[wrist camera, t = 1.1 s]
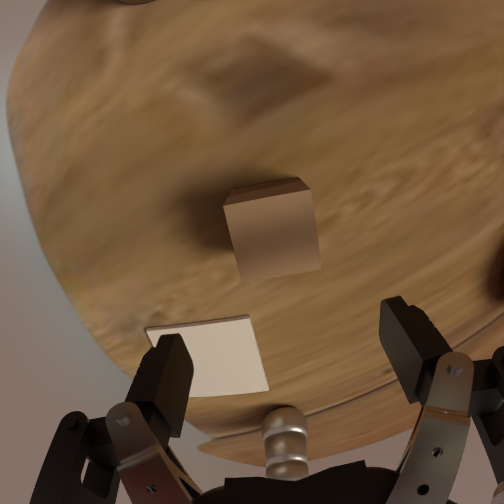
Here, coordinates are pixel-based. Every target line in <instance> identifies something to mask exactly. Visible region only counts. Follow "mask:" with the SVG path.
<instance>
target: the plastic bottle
mask: <svg viewBox="0 0 504 504" xmlns="http://www.w3.org/2000/svg"><path fill="white" fill-rule="evenodd" d="M261 432H262V438H263V441H264V446H265V455H266V476H265V478H271V479H279V480H289V481H296V480H300V479H302V478H305V477H308V476H310V474H309V468H308V462H307V442H306V439H307V434H308V423H307V420H306V418H305V415H304V414H303V413H302V412H301V411H300V410H298V409H296V408H292V407H282V408H277V409H274V410H272V411H270V412H269V413H268V414H267V415H266V416H265V418H264V419H263V422H262V427H261Z"/></svg>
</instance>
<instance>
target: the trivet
mask: <svg viewBox="0 0 504 504" xmlns="http://www.w3.org/2000/svg"><path fill="white" fill-rule="evenodd" d="M146 332H147V334H148V336H149V338H150V340H151V342H152V344H153V346H154V347H156V345H157V342H158V340H159V337H160V336H161V335H163V334H174V333H179V334H180V335H181V336H182V338H183V340H184V343H185V345H186V347H187V350H188V352H189V354H190V356H191V358H192V361H193V365H194V375H193V379H192V384H191V388H190V393H189V397H204V396H220V395H233V394H243V393H253V392H261V391H269V386H268V382H267V378H266V375H265V371H264V367H263V364H262V360H261V356H260V352H259V349H258V345H257V341H256V337H255V333H254V330H253V326H252V322H251V318H250V315H246V316H240V317H233V318H226V319H219V320H212V321H204V322H196V323H188V324H180V325H171V326H162V327H152V328H147V330H146Z"/></svg>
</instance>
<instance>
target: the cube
mask: <svg viewBox="0 0 504 504" xmlns="http://www.w3.org/2000/svg"><path fill="white" fill-rule="evenodd" d="M223 208H224V212H225V216H226V220H227V224H228V229H229V233H230V237H231V241H232V245H233V249H234V253H235V257H236V261H237V265H238V269H239V273H240V277H241V281H242V283H246V282H252V281H258V280H264V279H269V278H275V277H280V276H286V275H291V274H297V273H302V272H308V271H313V270H318V269H321V262H320V253H319V245H318V237H317V229H316V222H315V214H314V207H313V201H312V194H311V189H310V188H309V187H308V186H307V185H306V184H305V183H304V182H303V181H302V180H301V179H300V178H299V177H297V178H291V179H285V180H279V181H274V182H269V183H263V184H258V185H253V186H248V187H243V188H238V189H233V190H230V192H229V194H228V197H227V199H226V201H225V203H224V205H223Z"/></svg>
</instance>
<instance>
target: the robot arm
mask: <svg viewBox="0 0 504 504" xmlns="http://www.w3.org/2000/svg"><path fill="white" fill-rule="evenodd" d="M118 1H119V2H122V3H126V4H140V3H146V2H149V1H153V0H118ZM379 337H380V341H381V344H382V346H383V348H384V350H385V352H386V354H387V356H388V359H389V361H390V363H391V365H392V367H393V369H394V371H395V373H396V375H397V377H398V379H399V382H400V384H401V386H402V388H403V390H404V392H405V395H406V397H407V399H408V401H409V404H412V403H415V402H418V401H419V402H420V404H421V406H422V407H421V410H420V412H419V415H418V418H417V421H416V424H415V426H414V429H413V432H412V434H411V437H410V440H409V442H408V444H407V447H406V449H405V451H404V454H403V456H402V458H401V460H400V462H399V464H398V466H397V468H396V470H395V471H394V470H390V469H386V468H381V467H366V465H365V460H361V461H357V462H353V463H349V464H344V465H340V466H335V467H331V468H328V469H326V470H323V471H321V472H318V473H316V474H313V475H310V476H308V477H305V478H302V479H300V480H296V481H289V480H279V479H271V478H264V477H244V478H243V477H242V478H225V484H224V486H220V487H217V488H214V489H212V490H209V491H207V492H205V493H203V492H202V491H201V489H200V488H199V487H198V486H197V485H196V484H195V483H194V481H193V480H192V479H191V478H190V476H189V475H188V473H187V472H186V470H185V469H184V468H183V466H182V465H181V463H180V461H179V460H178V458H177V457H176V455H175V454H174V452H173V451H172V449H171V447H170V446H169V445H168V442H169V438H170V437H174V438H180V435H181V430H182V425H183V421H184V416H185V411H186V407H187V402H188V398H189V393H190V388H191V384H192V379H193V375H194V365H193V361H192V358H191V356H190V354H189V352H188V350H187V347H186V345H185V343H184V340H183V338H182V336H181V335H180V334H179V333H174V334H163V335H161V336H160V337H159V340H158V342H157V345H156V347H151V348H150V350H149V351H148V352H147V353H146V354H145V355H144V356H143V358H142V361H141V363H140V365H139V366H140V367H139V368H138V370H137V372H136V374H137V375H135V377H134V380H133V382H132V384H131V387H130V390H129V392H128V394H127V397H126V399H125V402H122V403H119V404H117V405H115V406H113V407H112V408H111V409H110V410H109V411H108V413H107V415H106V417H101V418H95V419H90V420H89V419H88V418H87V416H86V415H85V414H84V413H82V412H80V411H74V412H71V413H68V414H67V415H66V416H65V417H63V419H62V420H61V422H60V424H59V426H58V428H57V431H56V433H55V435H54V438H53V440H52V442H51V445H50V447H49V450H48V452H47V455H46V458H45V460H44V463H43V465H42V468H41V471H40V474H39V476H38V479H37V482H36V485H35V488H34V491H33V494H32V497H31V500H30V504H115V502H116V497H117V492H118V488H119V483H120V478H121V481H122V483H123V485H124V487H125V489H126V491H127V494H128V496H129V498H130V500H131V502H132V504H457V503H455V502H453V501H451V500H449V499H448V497H449V494H450V492H451V489H452V486H453V484H454V481H455V478H456V475H457V472H458V469H459V466H460V462H461V459H462V455H463V452H464V448H465V444H466V440H467V436H468V431H469V427H470V417H472V419H473V421H474V424H475V426H476V428H477V431H478V433H479V435H480V438H481V440H482V443H483V445H484V448H485V450H486V453H487V455H488V458H489V460H490V463H491V466H492V469H493V471H494V474H495V477H496V481H497V483H498V486H497V488H496V489H495V491H494V494H493V500H492V503H491V504H504V346H502V347H499V348H498V349H496V351H495V352H494V354H493V356H492V359H486V360H478V361H472V360H471V358H470V357H468V356H467V355H466V354H464V353H461V352H453V350H452V349H451V348H450V346H449V345H448V343H447V342H446V341H445V339H444V338H443V336H442V335H441V334H440V332H439V331H438V330H437V328H435V326H434V324H433V323H432V322H431V321H430V319H429V318H428V316H427V315H426V314H425V313H424V311H423V310H421V309H419V308H418V307H416V306H414V305H411V306H408V305H407V304H406V302H405V301H404V300H403V298H402V297H401V296H396V297H392V298H388V299H384V300H382V301H381V307H380V323H379ZM86 458H87V459H88V460H89V463H88V466H87V470H86V474H85V477H84V480H83V484H82V482H81V473H82V470H83V467H84V463H85V460H86Z"/></svg>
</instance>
